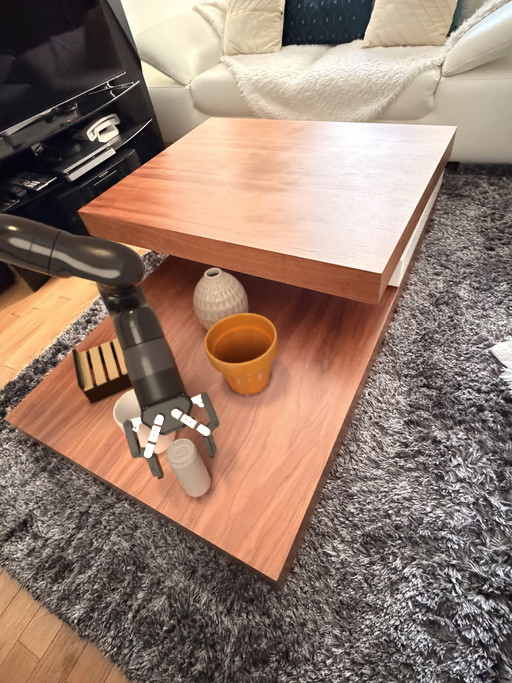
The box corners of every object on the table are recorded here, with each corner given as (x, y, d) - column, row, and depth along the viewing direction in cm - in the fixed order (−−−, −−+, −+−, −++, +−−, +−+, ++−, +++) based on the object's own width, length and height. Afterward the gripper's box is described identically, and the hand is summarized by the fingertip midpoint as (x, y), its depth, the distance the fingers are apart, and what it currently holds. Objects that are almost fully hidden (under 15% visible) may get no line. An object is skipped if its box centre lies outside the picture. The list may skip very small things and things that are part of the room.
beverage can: (181, 479, 70) (161, 445, 61) (206, 467, 71) (190, 432, 62) (189, 503, 66) (169, 471, 58) (215, 490, 68) (199, 456, 59)
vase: (221, 354, 90) (205, 299, 78) (191, 328, 98) (173, 274, 86) (262, 326, 95) (253, 270, 83) (231, 303, 103) (219, 249, 91)
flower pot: (294, 388, 81) (289, 345, 71) (231, 416, 78) (218, 375, 69) (265, 346, 90) (258, 303, 81) (208, 370, 87) (194, 328, 78)
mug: (143, 406, 83) (124, 374, 75) (185, 429, 77) (170, 397, 69) (113, 437, 78) (90, 407, 70) (156, 464, 72) (136, 434, 65)
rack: (91, 404, 85) (78, 385, 80) (84, 368, 93) (71, 349, 88) (152, 377, 88) (142, 358, 83) (140, 345, 96) (131, 326, 91)
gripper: (196, 356, 66) (227, 445, 66) (114, 384, 64) (146, 476, 64) (196, 356, 59) (231, 456, 59) (103, 388, 57) (139, 492, 57)
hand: (187, 467), depth 62 cm, fingers open, 8 cm apart
